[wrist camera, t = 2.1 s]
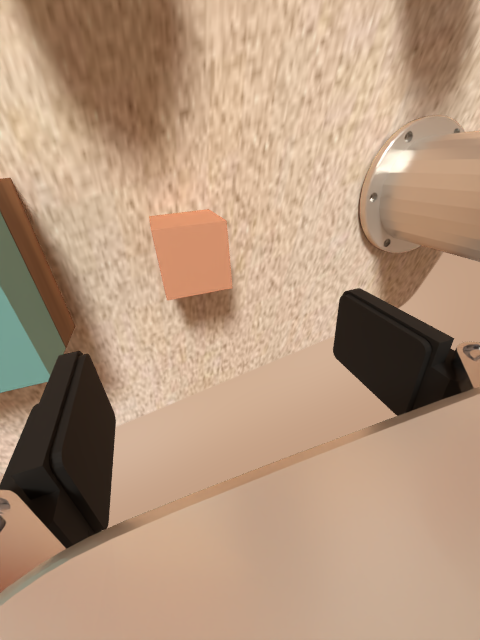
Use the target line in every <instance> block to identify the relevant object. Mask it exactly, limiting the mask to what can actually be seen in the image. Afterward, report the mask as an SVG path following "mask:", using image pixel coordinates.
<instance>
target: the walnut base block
mask: <svg viewBox="0 0 480 640" xmlns="http://www.w3.org/2000/svg"><path fill="white" fill-rule="evenodd" d="M0 212H1V214H2V216H3V218H4V221H5V223H6V225H7V227H8V229H9V231H10V233H11V235H12V237H13V239H14V241H15V243H16V246H17V248H18V250H19V252H20V254H21V256H22V258H23V260H24V262H25V264H26V266H27V268H28V271H29V273H30V275H31V277H32V279H33V281H34V283H35V285H36V287H37V289H38V291H39V293H40V295H41V298H42V300H43V302H44V304H45V306H46V308H47V310H48V312H49V314H50V316H51V318H52V320H53V323H54V325H55V327H56V329H57V331H58V333H59V335H60V337H61V339H62V341H63V343H64V345H65V348H66V347H67V345H68V342H69V340H70V337H71V335H72V332H73V330H74V328H75V325H74V323H73V320H72V318H71V316H70V313H69V311H68V309H67V307H66V304H65V302H64V300H63V297H62V295H61V293H60V291H59V288H58V286H57V284H56V281H55V279H54V277H53V275H52V272H51V270H50V268H49V265H48V263H47V261H46V258H45V256H44V254H43V252H42V249H41V247H40V245H39V242H38V240H37V238H36V236H35V233H34V231H33V229H32V226H31V224H30V222H29V220H28V217H27V215H26V213H25V210H24V208H23V206H22V204H21V201H20V199H19V197H18V194H17V192H16V190H15V187H14V185H13V183H12V181H11V178H3V179H0Z"/></svg>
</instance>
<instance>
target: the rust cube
mask: <svg viewBox="0 0 480 640" xmlns="http://www.w3.org/2000/svg"><path fill="white" fill-rule="evenodd" d="M149 219H150V225H151V231H152V236H153V240H154V245H155V249H156V254H157V258H158V262H159V267H160V271H161V276H162V280H163V285H164V289H165V294H166V298H167V300H172V299H177V298H183V297H188V296H193V295H199V294H204V293H209V292H214V291H220V290H225V289H230V288H232V278H231V267H230V256H229V244H228V233H227V221H226V220H224V219H223V218H221V217H220V216H218V215H217V214H215V213H214V212H212V211H210V210H209V209H207V210H199V211H190V212H182V213H173V214H165V215H156V216H149Z"/></svg>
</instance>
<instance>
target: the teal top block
mask: <svg viewBox="0 0 480 640" xmlns="http://www.w3.org/2000/svg"><path fill="white" fill-rule="evenodd" d="M65 349H66V348H65V345H64V343H63V341H62V339H61V337H60V335H59V333H58V331H57V329H56V327H55V325H54V323H53V320H52V318H51V316H50V314H49V312H48V310H47V308H46V306H45V304H44V302H43V300H42V298H41V295H40V293H39V291H38V289H37V287H36V285H35V283H34V281H33V279H32V277H31V275H30V273H29V271H28V268H27V266H26V264H25V262H24V260H23V258H22V256H21V254H20V252H19V250H18V248H17V246H16V243H15V241H14V239H13V237H12V235H11V233H10V231H9V229H8V227H7V225H6V223H5V221H4V218H3V216H2V214H1V212H0V393H1V392H6V391H10V390H14V389H18V388H23V387H27V386H31V385H35V384H40V383H44V382H48V380H49V378H50V375H51V373H52V370H53V368H54V365H55V363H56V360H57V358H58V356H59V355H63V354H64V351H65Z"/></svg>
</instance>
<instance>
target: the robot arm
mask: <svg viewBox="0 0 480 640" xmlns="http://www.w3.org/2000/svg"><path fill="white" fill-rule="evenodd" d="M360 219H361V225H362V228H363V231H364V234H365V235H366V237H367V238H368V240H369V241H370V242H371V243H372V244H373V245H374V246H375V247H377V248H379V249H381V250H383V251H387V252H390V253H404V252H409V251H412V250H414V249H417V248H418V247H420V246H425V247H429V248H432V249H436V250H439V251H443V252H446V253H450V254H454V255H457V256H461V257H465V258H468V259H471V260H475V261H478V262H480V131H471V132H465V131H464V129H463V128H462V126H461V125H460V124H459V123H458V122H457V121H456V120H454V119H452V118H450V117H448V116H441V115H434V116H427V117H422V118H419V119H416V120H413V121H411V122H410V123H408V124H406V125H404V126H403V127H401V128H400V129H399V130H398V131H397V132H395V133H394V134H393V135H392V136H391V137H390V138H389V139H388V140H387V142H386V143H385V144H384V145H383V146H382V147H381V149H380V150H379V152H378V154H377V155H376V157H375V158H374V160H373V162H372V164H371V166H370V168H369V170H368V172H367V175H366V178H365V181H364V184H363V187H362V193H361V198H360ZM453 340H454V338H452V337H450V336H449V335H447V334H445V333H443V332H441V331H439V330H437V329H435V328H433V327H432V326H429V325H428V324H426V323H424V322H422V321H420V320H418V319H417V318H415V317H413V316H411V315H409V314H407V313H405V312H403V311H401V310H400V309H398V308H396V307H394V306H392V305H390V304H388V303H387V302H385V301H383V300H381V299H379V298H377V297H375V296H373V295H372V294H370V293H368V292H366V291H364V290H362V289H359V288H358V289H353V290H349V291H345V292H344V293H343V296H341V297H340V301H339V309H338V316H337V324H336V332H335V340H334V347H333V353H334V355H335V357H336V359H337V360H339V361H340V362H341V363H342V364H343V365H344V366H345V367H346V368H347V369H348V370H349V371H350V372H351V373H352V374H353V375H355V377H356V378H358V379H359V380H360V381H361V382H362V383H363V384H364V385H365V386H366V387H367V388H368V389H369V390H370V391H372V392H373V394H375V395H376V396H377V397H378V398H379V399H380V400H381V401H382V402H383V403H384V404H385V405H386V406H387V407H388V408H390V410H392V411H393V412H394V413H395V414H396V415H397V416H396V417H394V418H391V419H388V420H385V421H383V422H380V423H377V424H375V425H372V426H369V427H367V428H364V429H362V430H359V431H356V432H353V433H351V434H348V435H345V436H343V437H340V438H337V439H335V440H332V441H330V442H327V443H324V444H321V445H319V446H316V447H314V448H311V449H308V450H306V451H303V452H300V453H297V454H295V455H292V456H290V457H287V458H284V459H282V460H279V461H276V462H274V463H271V464H268V465H266V466H264V467H261V468H258V469H255V470H253V471H250V472H248V473H245V474H242V475H240V476H237V477H235V478H232V479H229V480H227V481H224V482H221V483H219V484H216V485H213V486H211V487H208V488H206V489H203V490H200V491H198V492H195V493H193V494H190V495H188V496H185V497H183V498H180V499H178V500H175V501H173V502H170V503H168V504H165V505H163V506H160V507H158V508H155V509H153V510H150V511H148V512H145V513H143V514H140V515H138V516H135V517H133V518H130V519H128V520H125V521H123V522H121V523H119V524H117V525H114V526H112V527H110V528H108V529H107V527H108V521H109V508H110V495H111V480H112V466H113V452H114V439H115V438H114V437H115V425H116V420H115V414H114V411H113V409H112V406H111V404H110V402H109V400H108V397H107V395H106V393H105V390H104V388H103V386H102V383H101V381H100V379H99V376H98V374H97V372H96V369H95V367H94V365H93V362H92V360H91V358H90V356H89V354H84V355H83V354H82V353H81V352H80V351H77V352H72V353H68V354H63V355H59V356H58V358H57V360H56V363H55V365H54V368H53V370H52V373H51V375H50V378H49V380H48V383H47V385H46V388H45V390H44V393H43V395H42V398H41V400H40V403H39V404H36V405H35V406H34V407H33V409H32V410H31V413H30V415H29V417H28V420H27V422H26V424H25V427H24V429H23V431H22V434H21V436H20V439H19V441H18V443H17V446H16V448H15V450H14V453H13V455H12V458H11V460H10V462H9V465H8V467H7V469H6V472H5V474H4V476H3V479H2V482H1V484H0V640H480V342H463V343H461V344H459V345H458V346H457V348H456V350H455V351H454V350H452V349H451V345H452V342H453ZM102 530H103V531H102Z"/></svg>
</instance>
